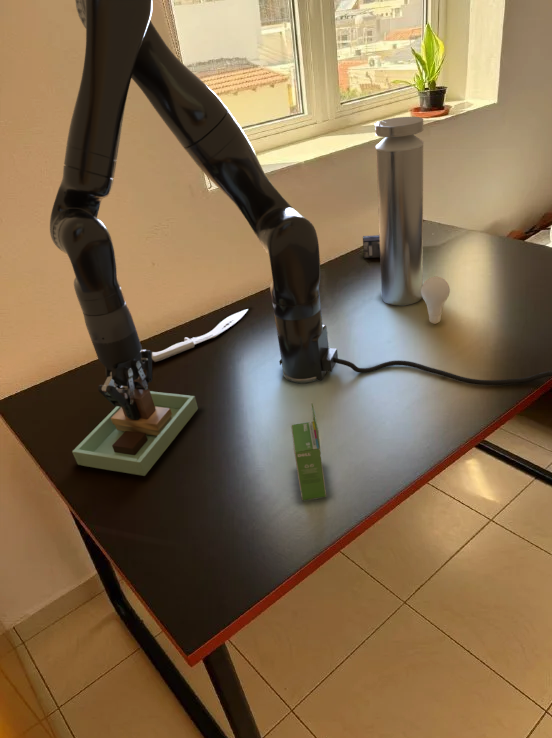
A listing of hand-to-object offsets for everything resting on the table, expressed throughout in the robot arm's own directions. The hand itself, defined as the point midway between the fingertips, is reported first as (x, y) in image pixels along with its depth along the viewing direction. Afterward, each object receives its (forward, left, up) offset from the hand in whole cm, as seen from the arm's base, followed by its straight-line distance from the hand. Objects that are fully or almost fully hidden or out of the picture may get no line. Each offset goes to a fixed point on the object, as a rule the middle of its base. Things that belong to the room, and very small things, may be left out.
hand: (140, 412), depth 106 cm
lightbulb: (-47, -49, -5) cm, 68 cm away
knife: (+6, -37, -5) cm, 38 cm away
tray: (0, +2, -4) cm, 5 cm away
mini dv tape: (-25, -88, -5) cm, 91 cm away
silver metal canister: (-37, -62, -5) cm, 72 cm away
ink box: (-36, +7, -5) cm, 37 cm away
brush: (0, 0, -3) cm, 3 cm away
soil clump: (0, +5, -4) cm, 6 cm away
